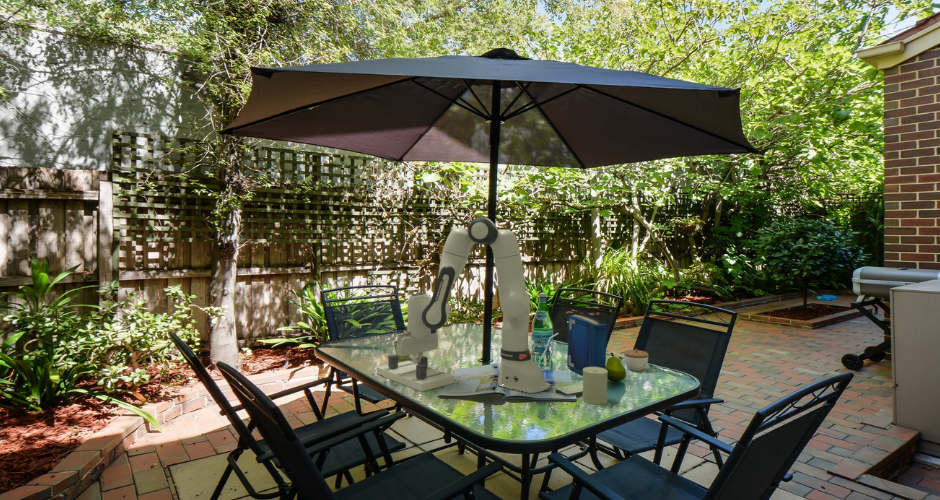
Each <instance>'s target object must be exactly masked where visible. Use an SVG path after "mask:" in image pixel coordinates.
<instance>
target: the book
mask: <svg viewBox="0 0 940 500" xmlns="http://www.w3.org/2000/svg"><path fill="white" fill-rule="evenodd" d="M567 322H568V324H567V325H568V328H567V329H568V330H567V353H566V354H567V359H566V366H567V368H569V369H571V370H572V371H574V373H577V374H580V375H582V376H583V368H586V367H600V368H604V369H606V360H607V340H608V339H607V335H608V334H607V333H608V325H607V323H605V322H601V321H600V320H599V319H597V318H594V317H591V316H590V315H589V316H588V315H584V314H568V321H567Z"/></svg>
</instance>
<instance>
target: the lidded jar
mask: <svg viewBox="0 0 940 500" xmlns="http://www.w3.org/2000/svg"><path fill="white" fill-rule="evenodd" d="M623 359H624V360H623V361H624V364H625V366H626V367H627V368H628V370H629V371H632V372H633V371H634V372H642V371H643V370H644V369H646V368H647V366H648V362H649V353H648V352H647V351H644V350H638V348H635V349H627V350H624V351H623Z"/></svg>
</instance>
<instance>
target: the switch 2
mask: <svg viewBox="0 0 940 500" xmlns="http://www.w3.org/2000/svg"><path fill="white" fill-rule="evenodd" d="M427 367H428V364H427V365H424V364H420V365H416V378H419V379H423V378H427Z"/></svg>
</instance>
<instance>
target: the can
mask: <svg viewBox="0 0 940 500" xmlns="http://www.w3.org/2000/svg"><path fill="white" fill-rule="evenodd" d="M608 372H609V371H608V370H607V369H606V368H605V369H604V368H600V367H586V368H583V375H582V397H581V400H582V401H583V402H584V403H587V404H589V405H605V404H606V403H608Z"/></svg>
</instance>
